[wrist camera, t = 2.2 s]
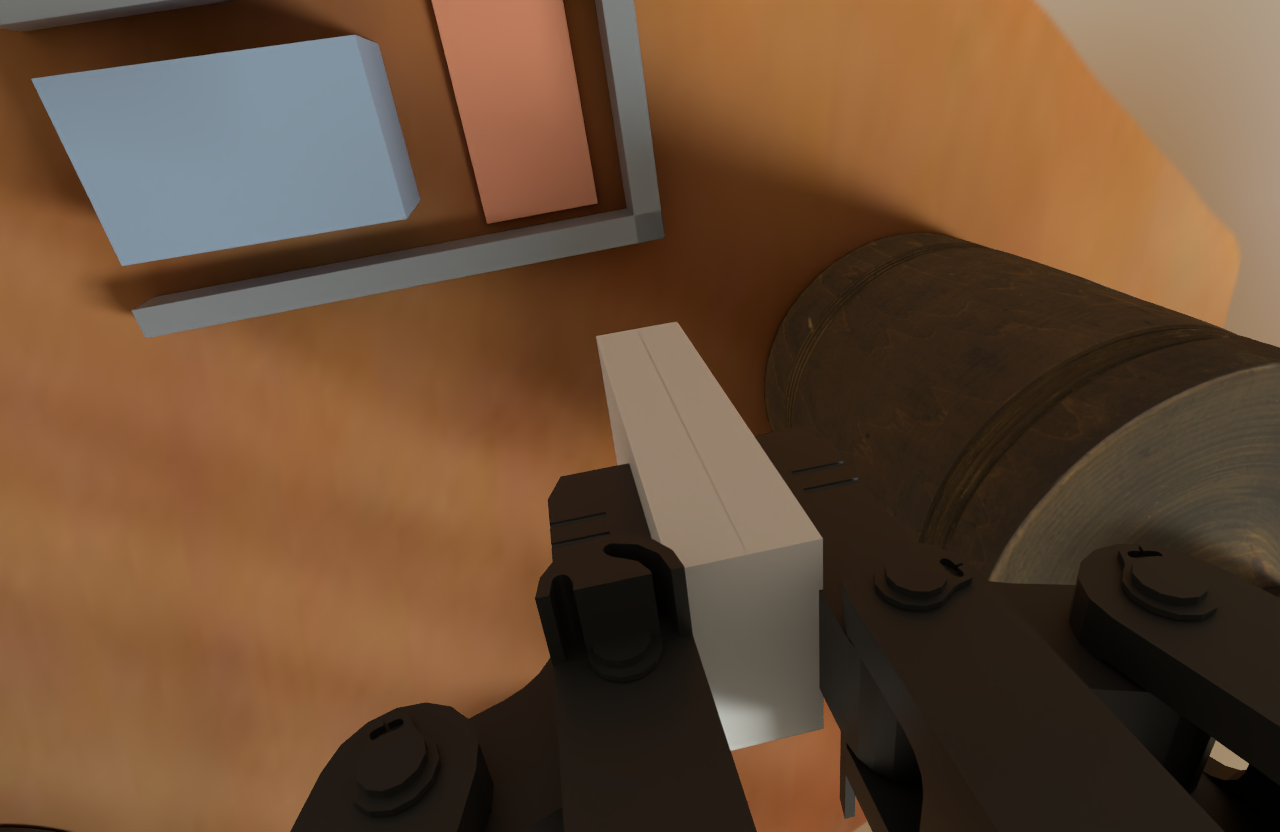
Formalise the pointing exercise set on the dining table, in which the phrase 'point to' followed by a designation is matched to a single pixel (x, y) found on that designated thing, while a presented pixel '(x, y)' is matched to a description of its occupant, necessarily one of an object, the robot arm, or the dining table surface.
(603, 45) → the grey flat frame
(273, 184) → the slate block
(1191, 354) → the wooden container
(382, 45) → the dining table surface
